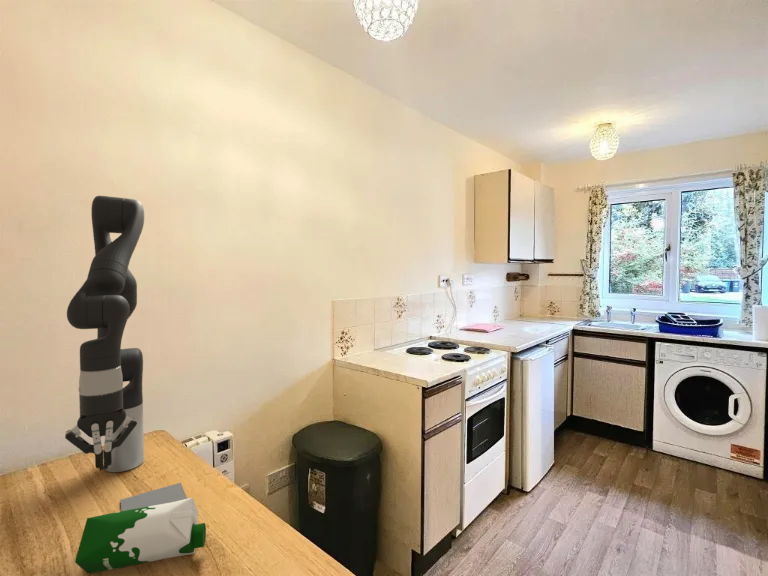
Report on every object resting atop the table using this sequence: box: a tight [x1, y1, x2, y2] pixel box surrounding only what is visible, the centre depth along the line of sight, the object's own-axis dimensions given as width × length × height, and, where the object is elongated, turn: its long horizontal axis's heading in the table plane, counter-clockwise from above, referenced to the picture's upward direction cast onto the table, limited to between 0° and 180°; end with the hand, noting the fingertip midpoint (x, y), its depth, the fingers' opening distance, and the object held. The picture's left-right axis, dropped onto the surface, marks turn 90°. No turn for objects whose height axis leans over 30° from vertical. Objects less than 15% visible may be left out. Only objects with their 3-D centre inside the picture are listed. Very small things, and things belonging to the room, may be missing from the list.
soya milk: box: [74, 497, 207, 574], centre depth 75 cm, size 9×9×20 cm
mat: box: [119, 482, 188, 511], centre depth 89 cm, size 20×13×1 cm, turn 36°
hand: (103, 468), depth 84 cm, fingers closed
